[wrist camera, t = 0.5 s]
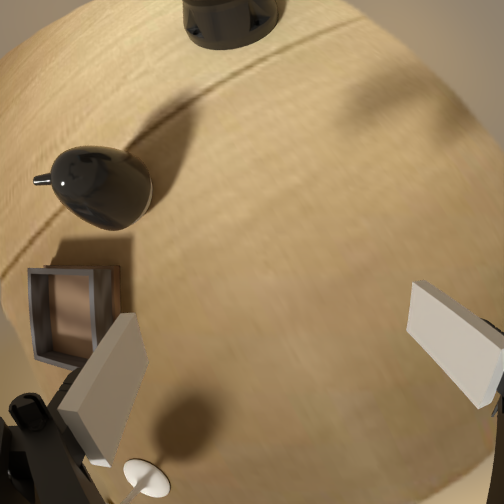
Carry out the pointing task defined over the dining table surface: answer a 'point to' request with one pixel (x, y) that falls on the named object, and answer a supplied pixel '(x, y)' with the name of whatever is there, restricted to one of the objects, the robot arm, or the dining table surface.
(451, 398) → the dining table surface
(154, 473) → the wineglass
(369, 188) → the dining table surface
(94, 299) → the holder
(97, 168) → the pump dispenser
